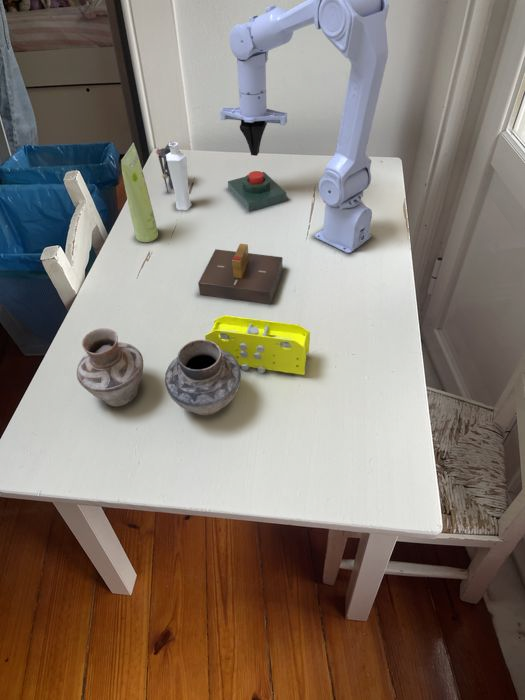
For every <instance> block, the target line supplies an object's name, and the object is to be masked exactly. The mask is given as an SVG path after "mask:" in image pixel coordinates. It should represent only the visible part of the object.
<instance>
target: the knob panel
mask: <svg viewBox="0 0 525 700" xmlns="http://www.w3.org/2000/svg"><path fill="white" fill-rule="evenodd" d="M235 253H236V251H235V250H234V251H232V250H224V249H217V248H215V249H214V251H213V253H212V255H211V257H210V259H209V261H208V263H207V265H206V267H205V269H204V271H203V272H202V275H201V277H200V279H199V280H198V282H197V283H198V289H199V295H200V296H207V297H212V298H213V297H214V298H221V299H228V300H236V301H243V302H250V303H258V304H265V305H271V304H272V301H273V299H274V296H275V293H276V291H277V290H276V289H277V287H278V284H279V280H280V278H281V275H282V272H283V257H282V256H276V255H275V256H274V255H268V254H267V255H266V254H259V253H250V252H248V255H249V262H248V265H247V267H246V269H245V272H244V274H243V276H242V278H234V276H233V265H232V260H233V257H234V255H235Z"/></svg>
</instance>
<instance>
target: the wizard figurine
mask: <svg viewBox="0 0 525 700" xmlns="http://www.w3.org/2000/svg"><path fill="white" fill-rule="evenodd" d="M171 142H172V141H170V142H169V143H171ZM169 143H167V144H166V146H165V147H164V148H163V147H162V148H157V149H156V151H155V153H156V155H157V157H158V160H159V165H160V169H161V172H162V176H161V177H162V178H163V181H164V184H165V188H166V192H167V193H169V189H168V186H169V188H170V189H171V190H174V188H173V184H172V180H171V176H170V172H169V168H168V163H167V159H166V154H168V153H170V146H169ZM179 152H180V153H181V151H180V150H179ZM167 179H168V183H167Z"/></svg>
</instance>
